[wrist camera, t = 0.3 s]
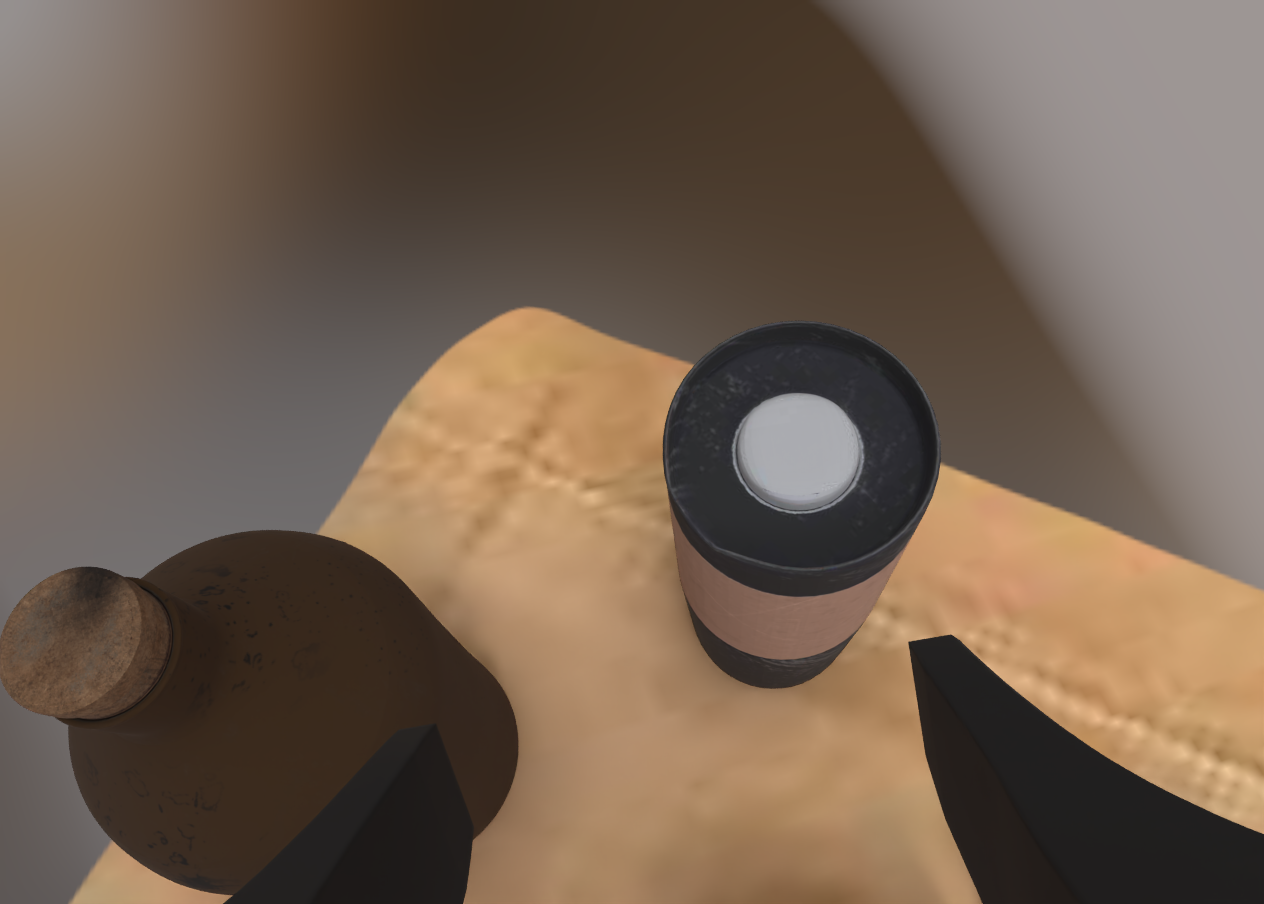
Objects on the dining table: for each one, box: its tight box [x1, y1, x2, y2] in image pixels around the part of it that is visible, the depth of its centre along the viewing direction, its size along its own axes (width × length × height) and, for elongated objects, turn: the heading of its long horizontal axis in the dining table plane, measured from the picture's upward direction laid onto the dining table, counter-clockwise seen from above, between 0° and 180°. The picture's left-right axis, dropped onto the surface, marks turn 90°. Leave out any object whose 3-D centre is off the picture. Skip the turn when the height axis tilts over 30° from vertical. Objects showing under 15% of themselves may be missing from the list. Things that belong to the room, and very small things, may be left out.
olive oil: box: [0, 530, 518, 895], centre depth 32 cm, size 11×11×25 cm
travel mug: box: [663, 321, 941, 688], centre depth 35 cm, size 8×8×20 cm
